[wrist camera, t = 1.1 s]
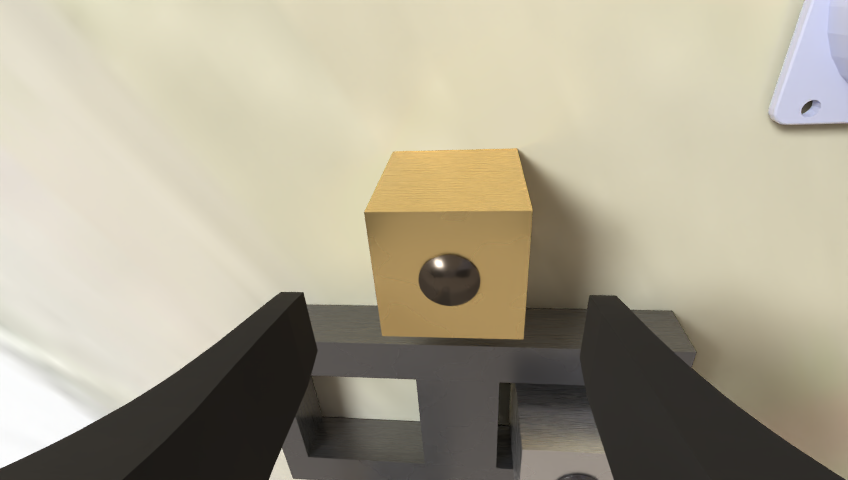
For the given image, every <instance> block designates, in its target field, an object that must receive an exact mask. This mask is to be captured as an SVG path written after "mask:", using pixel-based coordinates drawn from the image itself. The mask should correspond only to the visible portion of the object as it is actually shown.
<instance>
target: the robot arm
mask: <svg viewBox="0 0 848 480" xmlns="http://www.w3.org/2000/svg"><path fill="white" fill-rule="evenodd" d="M811 100H812V106H811V108H810V109H809V110H808V111H806V112H805V113H802V114H801V109H802V107H803V106H804V104H806V103H807V102H809V101H811ZM768 113H769V116H770V118H771V119H772V120H774V121H775V122H777V123H779V124H784V125H802V124H836V123H848V0H805V1H804V4H803V7H802V10H801V13H800V16H799V19H798V22H797V25H796V28H795V31H794V34H793V37H792V40H791V43H790V46H789V49H788V52H787V55H786V58H785V61H784V64H783V67H782V70H781V73H780V76H779V79H778V82H777V85H776V88H775V91H774V94H773V97H772V100H771V103H770V106H769V112H768ZM317 351H318V349H317V345H316V341H315V337H314V333H313V329H312V325H311V321H310V317H309V313H308V309H307V305H306V301H305V297H304V293H303V292H281V293H279V294H278V295H276V296H275V297H274V298H272V299H271V300H270V301H269V302H267V303H266V304H265V305H263V306H262V307H261V308H260V309H259V310H257V311H256V312H255V313H254V314H252V315H251V316H250V317H249V318H247V319H246V320H245V321H244V322H242V323H241V324H240V325H239V326H237V327H236V328H235V329H234V330H232V331H231V332H230V333H229V334H227V335H226V336H225V337H223V338H222V339H221V340H220V341H218V342H217V343H216V344H214V345H213V346H212V347H210V348H209V349H208V350H206V351H205V352H204V353H202V354H201V355H199V356H198V357H197V358H195V359H194V360H193V361H191V362H190V363H189V364H187V365H186V366H184V367H183V368H182V369H180V370H179V371H177V372H176V373H175V374H173V375H172V376H170V377H169V378H167V379H166V380H164V381H163V382H161V383H160V384H158V385H157V386H155V387H153V388H152V389H150V390H149V391H147V392H145V393H144V394H142V395H141V396H139V397H137V398H136V399H134V400H132V401H131V402H129V403H127V404H126V405H124V406H122V407H120V408H119V409H117V410H115V411H113V412H111V413H110V414H108V415H106V416H104V417H102V418H101V419H99V420H97V421H95V422H93V423H92V424H90V425H88V426H86V427H84V428H83V429H81V430H79V431H77V432H75V433H73V434H71V435H69V436H67V437H65V438H63V439H61V440H59V441H57V442H55V443H54V444H52V445H50V446H48V447H46V448H43V449H41V450H39V451H37V452H35V453H33V454H31V455H29V456H27V457H24V458H22V459H20V460H18V461H16V462H14V463H12V464H9V465H7V466H5V467H3V468H1V469H0V480H269V478H270V475H271V472H272V470H273V467H274V465H275V462H276V460H277V458H278V455H279V453H280V451H281V448H282V446H283V444H284V441H285V439H286V437H287V434H288V432H289V430H290V427H291V425H292V423H293V420H294V418H295V416H296V413H297V411H298V409H299V406H300V404H301V402H302V399H303V397H304V394H305V392H306V389H307V387H308V384H309V381H310V377H311V374H312V370H313V367H314V363H315V359H316V355H317ZM580 363H581V368H582V374H583V379H584V384H585V389H586V394H587V398H588V401H589V404H590V408H591V411H592V414H593V417H594V420H595V423H596V426H597V430H598V433H599V436H600V439H601V442H602V445H603V448H604V451H605V454H606V457H607V460H608V463H609V466H610V470H611V473H612V476H613V479H614V480H845V479H844V478H842V477H841V476H839V475H837V474H836V473H834V472H832V471H831V470H829V469H828V468H826V467H825V466H823V465H822V464H820V463H819V462H817V461H816V460H814V459H813V458H811V457H809V456H808V455H806V454H805V453H803V452H802V451H800V450H799V449H797V448H796V447H794V446H793V445H791V444H790V443H788V442H787V441H785V440H784V439H782V438H781V437H780V436H778V435H777V434H775V433H774V432H772V431H771V430H770V429H768V428H767V427H766V426H764V425H763V424H761V423H760V422H759V421H757V420H756V419H755V418H753V417H752V416H751V415H749V414H748V413H747V412H745V411H744V410H742V409H741V408H740V407H738V406H737V405H736V404H735V403H733V402H732V401H731V400H729V399H728V398H727V397H726V396H724V395H723V394H722V393H721V392H719V391H718V390H717V389H716V388H715V387H713V386H712V385H711V384H710V383H709V382H707V381H706V380H705V379H704V378H703V377H701V376H700V375H699V374H698V373H697V372H695V371H694V370H693V369H692V368H691V367H690V366H689V365H688V364H686V363H685V362H684V361H683V360H682V359H681V358H680V357H679V356H678V355H676V354H675V353H674V352H673V351H672V350H671V349H670V348H669V347H668V346H667V345H666V344H665V343H664V342H662V341H661V340H660V339H659V338H658V337H657V336H656V335H655V334H654V333H653V332H652V331H651V330H650V329H649V328H648V327H647V326H646V325H645V324H644V323H643V322H642V321H641V320H640V319H639V318H638V317H637V316H636V315H635V314H634V313H633V312H632V311H631V310H630V309H629V308H628V307H627V306H626V305H625V304H624V303H623V302H622V301H621V300H620V299H619V298H618V297H617V296H603V295H590V296H589V302H588V308H587V314H586V321H585V327H584V333H583V339H582V345H581V351H580Z"/></svg>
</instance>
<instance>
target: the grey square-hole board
mask: <svg viewBox="0 0 848 480" xmlns="http://www.w3.org/2000/svg"><path fill="white" fill-rule="evenodd" d="M307 309H308V313H309V317H310V321H311V325H312V329H313V333H314V337H315V341H316V345H317V349H318V351H317V355H316V359H315V363H314V367H313V370H312V374H311V375H312V376H340V377H367V378H394V379H416V382H417V392H418V402H419V412H420V422H413V421H392V420H371V419H350V418H330V417H322V414H321V410H320V407H319V403H318V399H317V396H316V392H315V388H314V385H313V381H312V377H310V381H309V384H308V387H307V389H306V392H305V394H304V397H303V399H302V402H301V404H300V406H299V409H298V411H297V413H296V416H295V418H294V420H293V423H292V425H291V427H290V430H289V432H288V434H287V437H286V439H285V441H284V444H283V446H282V449H283V452H284V455H285V457H286V460H287V463H288V466H289V468H290V471H291V474H292V477H293V479H307V480H514V472H513V459H512V447H511V434H510V426H498V405H499V382H504V383H532V384H559V385H585V384H584V379H583V374H582V368H581V363H580V351H581V345H582V339H583V333H584V327H585V321H586V314H587V309H530V308H526V312H525V325H524V339H482V338H441V337H400V336H382V332H381V325H380V318H379V311H378V306H351V305H307ZM631 311H632V312H633V313H634V314H635V315H636V316H637V317H638V318H639V319H640V320H641V321H642V322H643V323H644V324H645V325H646V326H647V327H648V328H649V329H650V330H651V331H652V332H653V333H654V334H655V335H656V336H657V337H658V338H659V339H660V340H661V341H662V342H664V343H665V344H666V345H667V346H668V347H669V348H670V349H671V350H672V351H673V352H674V353H675V354H676V355H678V356H679V357H680V358H681V359H682V360H683V361H684V362H685V363H686V364H688V365H689V366H690V367H692V364H693V361H694V358H695V356H696V353H697V352H696V350H695V349H694V347H693V345H692V344H691V342H690V340H689V339H688V337H687V335H686V334H685V332H684V330H683V328H682V327H681V325H680V323H679V322H678V320H677V318H676V317H675V315H674V313H673V312H672V311H649V310H631Z"/></svg>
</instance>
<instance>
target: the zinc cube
mask: <svg viewBox="0 0 848 480" xmlns="http://www.w3.org/2000/svg"><path fill="white" fill-rule="evenodd" d="M509 422H510V434H511V447H512V459H513V472H514V480H614V479H613V476H612V473H611V470H610V466H609V463H608V460H607V457H606V454H605V451H604V448H603V445H602V442H601V439H600V436H599V433H598V430H597V426H596V423H595V420H594V417H593V414H592V411H591V408H590V404H589V401H588V398H587V394H586V389H585V385H559V384H532V383H511V390H510V408H509Z"/></svg>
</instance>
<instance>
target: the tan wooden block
mask: <svg viewBox="0 0 848 480" xmlns="http://www.w3.org/2000/svg"><path fill="white" fill-rule="evenodd" d="M364 214H365V221H366V228H367V235H368V242H369V249H370V256H371V263H372V270H373V276H374V283H375V290H376V297H377V304H378V311H379V318H380V325H381V332H382V336H400V337H441V338H482V339H524V325H525V312H526V298H527V284H528V270H529V256H530V243H531V229H532V215H533V209H532V205H531V201H530V198H529V194H528V190H527V186H526V182H525V178H524V174H523V170H522V166H521V162H520V158H519V154H518V150H517V148H516V149H476V150H436V151H397V152H393V153H392V155H391V157H390V159H389V161H388V163H387V165H386V168H385V170H384V172H383V174H382V176H381V178H380V180H379V182H378V184H377V186H376V189H375V191H374V193H373V195H372V197H371V199H370V201H369V203H368V205H367V207H366V210H365V212H364Z"/></svg>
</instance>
